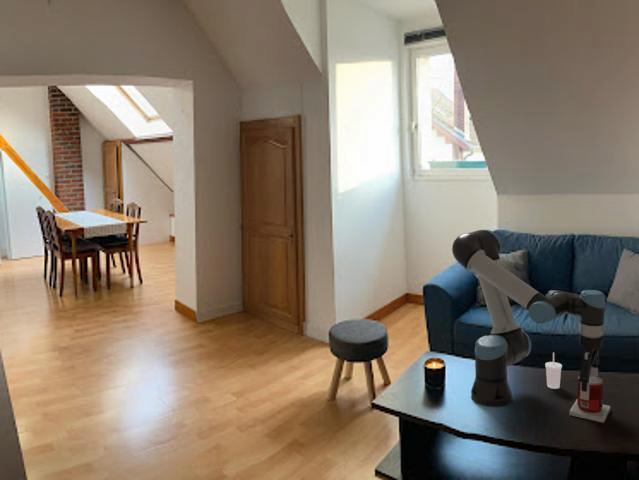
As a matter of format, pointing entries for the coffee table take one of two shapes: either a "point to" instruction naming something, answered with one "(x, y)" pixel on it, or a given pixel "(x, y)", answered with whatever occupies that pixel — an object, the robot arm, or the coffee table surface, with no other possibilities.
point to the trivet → (588, 415)
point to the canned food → (592, 395)
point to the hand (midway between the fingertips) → (588, 391)
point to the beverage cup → (553, 374)
